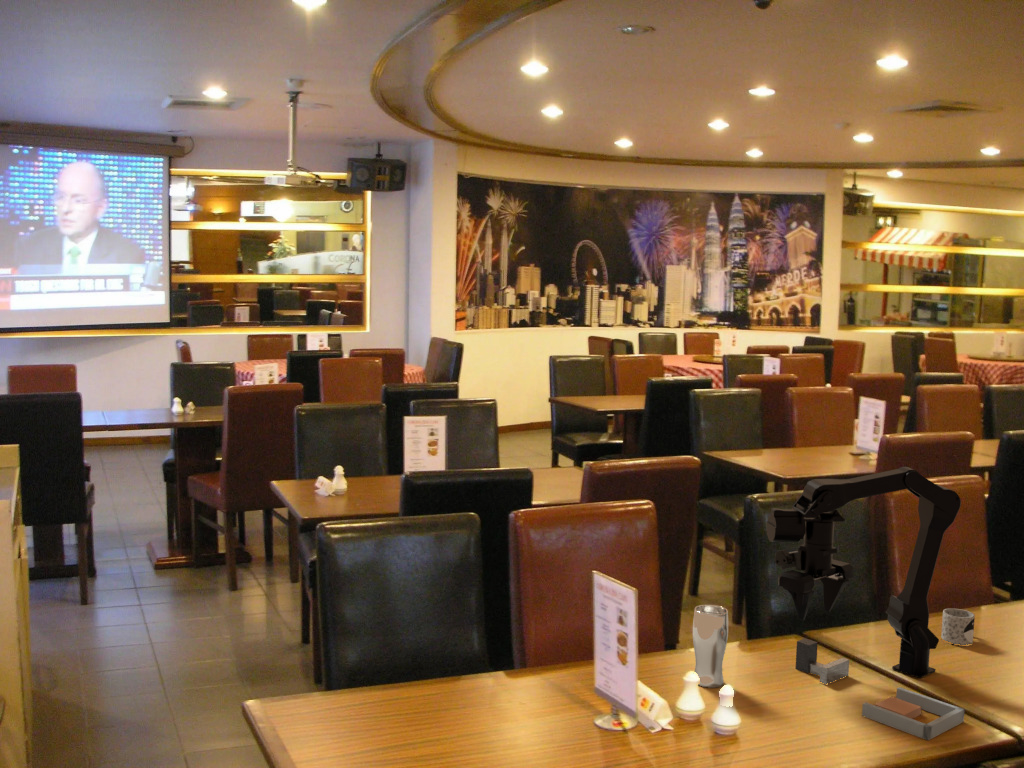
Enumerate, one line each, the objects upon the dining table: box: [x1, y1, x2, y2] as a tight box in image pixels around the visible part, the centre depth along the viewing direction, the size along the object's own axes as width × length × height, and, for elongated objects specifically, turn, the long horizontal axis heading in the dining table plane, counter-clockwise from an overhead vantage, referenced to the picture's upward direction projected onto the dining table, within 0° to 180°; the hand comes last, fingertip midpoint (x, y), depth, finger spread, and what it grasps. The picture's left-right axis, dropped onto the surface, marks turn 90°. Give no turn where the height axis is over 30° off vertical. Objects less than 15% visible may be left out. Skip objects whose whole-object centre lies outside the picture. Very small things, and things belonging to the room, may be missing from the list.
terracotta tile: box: [874, 696, 922, 719], centre depth 194 cm, size 6×6×2 cm
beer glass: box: [692, 604, 729, 689], centre depth 207 cm, size 7×7×15 cm
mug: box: [940, 608, 976, 645], centre depth 236 cm, size 10×7×7 cm
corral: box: [861, 687, 966, 741], centre depth 192 cm, size 13×13×2 cm
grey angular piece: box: [795, 638, 850, 685], centre depth 213 cm, size 8×9×6 cm
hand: (814, 615), depth 213 cm, fingers open, 9 cm apart
